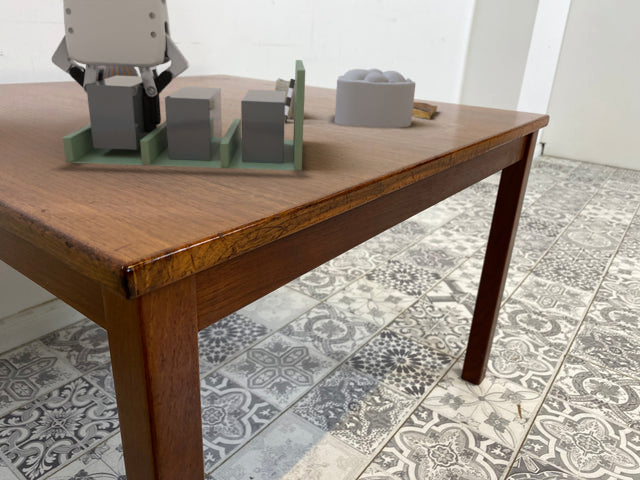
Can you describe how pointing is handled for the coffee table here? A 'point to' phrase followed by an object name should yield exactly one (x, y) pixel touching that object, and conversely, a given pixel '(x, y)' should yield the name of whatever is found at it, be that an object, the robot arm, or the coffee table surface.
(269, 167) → the book rack
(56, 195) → the coffee table surface
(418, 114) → the brown yellow flat block
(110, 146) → the gray rectangular block
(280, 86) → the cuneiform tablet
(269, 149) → the clay tablet
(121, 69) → the vase
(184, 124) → the clay tablet
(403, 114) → the lumpy-topped squat cylinder
